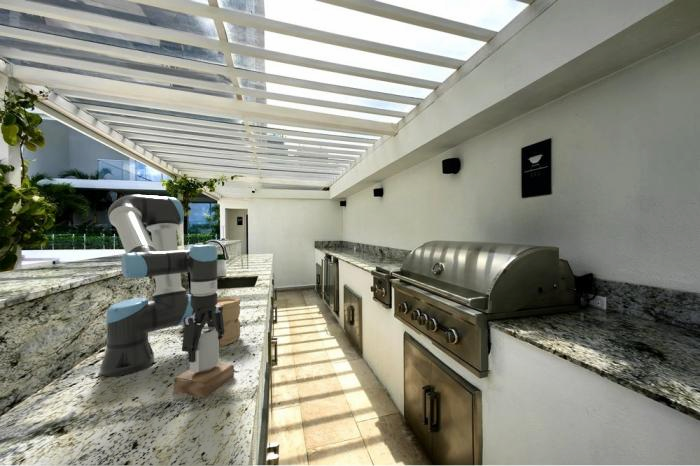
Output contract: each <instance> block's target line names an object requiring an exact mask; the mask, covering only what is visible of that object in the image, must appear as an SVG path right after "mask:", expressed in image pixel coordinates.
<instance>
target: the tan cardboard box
mask: <svg viewBox="0 0 700 466" xmlns="http://www.w3.org/2000/svg"><path fill="white" fill-rule="evenodd" d="M234 378H235V366H234V364H229V363H225V362H219V361H218V363H217V364H216V365H215V367H214V368H212V369H210V370H207V371H202V372H192V371H190V368H189V369H187V370H185V371H184V372H183V373H180V374H179V375H177V376H175V377H174V378H173V392H174V393H179V394H184V395H189V396H192V397H193V396H194V397H198V398H204V399H207V398H209V397H210V396H211V395H212V394H213V393H215V392H216V391H217V390H219V389H220V388H221V387H223V386H224V385H225V384H227V383H228V382H229V381H231V379H234Z"/></svg>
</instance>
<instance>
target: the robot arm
mask: <svg viewBox="0 0 700 466" xmlns="http://www.w3.org/2000/svg"><path fill="white" fill-rule="evenodd" d="M184 216H185V211H184V207H183V204H182V202H181V201H180V200H179V199H178V198H176V197H173V196H172V197H170V196H168V195H167V196H159V195H147V194H128V195H124V196H122V197H120V198H118V199H117V200H114V202H113V203H112V204H110V207H108V211H107V217H108V221H109V222H110V224H111V225H112V226H113V227H115V228H116V232H117V234H118V236H119V239H120V241H121V243H122V246H123V249H124V252H125V253H124V254H123V255H122V257H121V261H120V262H121V263H120V265H121V267H120V268H121V273H122V276H123V277H124V278H125V279H137V278H138V279H142V278H149V277H154V279H155V288H156V290H155V292H154V293H153V294H152V296H151V299H152V300H149V299H148V298H146V297H136V298H130V299H125V300H122V301H119V302H117V303H116V302H115V303H114V304H112V305H111V306H108V308H107V310H106V315H105V316H106V318H105V323H106V350H105V352H104V355H103V358H102V361H101V363H100V367H99V372H100V375H102V376H103V377H118V376H125V375H128V374H133V373H135V372H139V371H141V370H143V369H145V368H147V367H149V366H150V365H152V364H153V362H154V361H155V353H154V350H153V348H152V346H151V344H150V341H149V333H153V332H156V331H161V330H164V329H169V328H173V327H174V328H175V327H178V326H181V325H182V324H184V327H183V334H182V335H183V336H182V344H181V351H182V352H185V353H188V354H187V356H188V359H187V360H188V363H189V369H190V371H192V372H199V350H197V346H198V342H199V338H200V335H201V331H202V328H203V327H205V325H206V324H207V327H215V328H216V331H217V332H218V360H219V359H220V353H219V351H220V350H219V349H220V347H221V346H220V339H222V337H223V336H221V335H224V324H223V315H222V311H223V307H222V306H215V305H216V304H217V303H218V298H219V297H218V249H217V246H216V245H215V244H193V245H192V246H191V247H190V248H187V249H180V250H179V248H178V246H179V245H178V239H177V238H178V237H177V231H178V229H179V228H180V227H181V226H180V225H181V224H183V223H184V219H185V217H184ZM148 231H149V232H150V233H151V237H150V235H149V233H148ZM182 273H183V274H184V273H189V274H190V275H189V276H190V293H187V289H186V288H185V287H183V286H182V277H181V276H182V275H181V274H182ZM220 330H221V331H220ZM211 331H212V330H210V332H211ZM192 346H193V347H192ZM219 346H220V347H219Z"/></svg>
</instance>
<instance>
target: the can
mask: <svg viewBox="0 0 700 466" xmlns="http://www.w3.org/2000/svg"><path fill="white" fill-rule="evenodd" d="M210 330H212V331H211V332H210ZM192 347H193V346H192ZM197 350H199V372H202V371H207V370H210V369H212V368H214V367H215V365H216V364H217V363H218V362H219V359H218V332H217V331H216V328H215V327H208V326H204V327H203V328H202V331H201V335H200V338H199V342H198V346H197Z"/></svg>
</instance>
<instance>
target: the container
mask: <svg viewBox="0 0 700 466" xmlns="http://www.w3.org/2000/svg"><path fill="white" fill-rule="evenodd" d="M217 298H218V303H217V304H216V305H215V306H222V307H223V311H222V315H223V324H224V335H221V336H223V337H222V339H220V346H219V348H220V347H225V346H227V345H229V344H232V343H236V341H237V339H239V338H240V337H241V322H240V319H239V318H240V314H241V305H240V304H241V299H240V297H238V296H223V297H222V296H221V297H217ZM220 331H221V330H220Z"/></svg>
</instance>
